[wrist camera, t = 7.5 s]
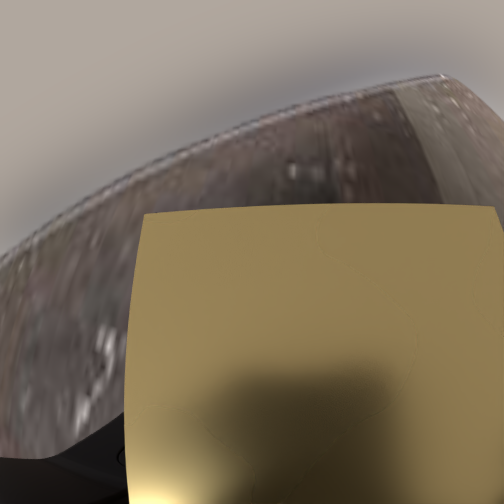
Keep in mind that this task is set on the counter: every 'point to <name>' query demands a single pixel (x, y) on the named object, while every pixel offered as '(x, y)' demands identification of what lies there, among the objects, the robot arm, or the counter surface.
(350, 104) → the counter surface
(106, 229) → the counter surface
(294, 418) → the tan block
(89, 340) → the counter surface
